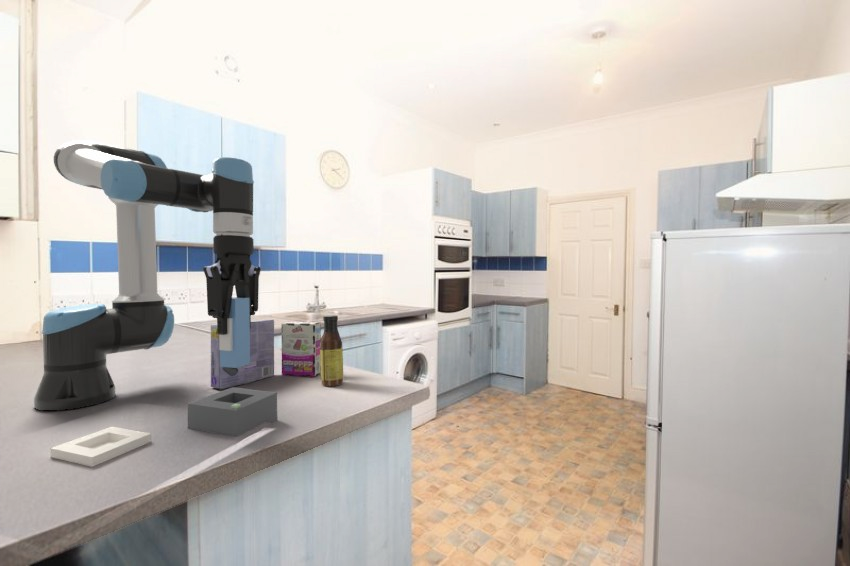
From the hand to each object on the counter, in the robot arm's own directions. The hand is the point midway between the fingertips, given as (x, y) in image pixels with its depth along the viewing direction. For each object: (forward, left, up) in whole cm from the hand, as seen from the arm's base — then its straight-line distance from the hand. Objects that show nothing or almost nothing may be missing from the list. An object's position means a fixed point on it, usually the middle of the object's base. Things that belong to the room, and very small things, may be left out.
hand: (234, 347), depth 84 cm
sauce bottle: (+3, +34, -17) cm, 38 cm away
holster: (-12, -18, -17) cm, 27 cm away
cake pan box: (-22, +28, -17) cm, 40 cm away
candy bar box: (-12, +40, -17) cm, 45 cm away
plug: (0, 0, -4) cm, 4 cm away
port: (0, 0, -17) cm, 17 cm away
